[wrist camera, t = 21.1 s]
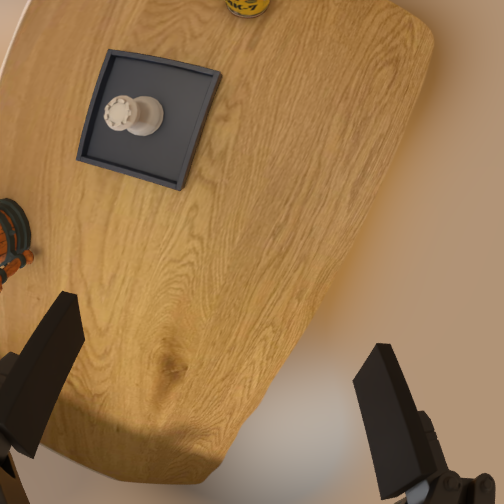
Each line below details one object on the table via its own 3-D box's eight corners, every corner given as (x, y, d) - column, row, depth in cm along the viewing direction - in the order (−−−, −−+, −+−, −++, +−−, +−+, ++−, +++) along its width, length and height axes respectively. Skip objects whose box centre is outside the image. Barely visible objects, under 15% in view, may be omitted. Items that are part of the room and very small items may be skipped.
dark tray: (222, 75, 30) (220, 71, 28) (184, 187, 34) (180, 191, 32) (115, 52, 28) (108, 48, 26) (84, 158, 33) (75, 160, 31)
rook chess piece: (173, 112, 31) (150, 106, 23) (147, 144, 32) (118, 147, 24) (144, 89, 30) (115, 78, 22) (119, 120, 31) (85, 118, 23)
